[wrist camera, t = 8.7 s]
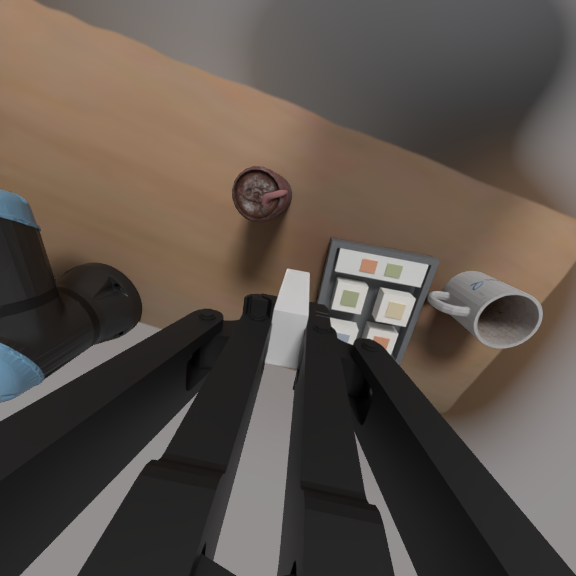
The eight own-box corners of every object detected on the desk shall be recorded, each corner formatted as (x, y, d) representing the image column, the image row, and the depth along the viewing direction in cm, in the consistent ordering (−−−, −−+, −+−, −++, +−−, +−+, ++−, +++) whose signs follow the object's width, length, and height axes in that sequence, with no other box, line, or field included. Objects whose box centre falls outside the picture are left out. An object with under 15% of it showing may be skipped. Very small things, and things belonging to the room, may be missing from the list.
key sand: (371, 313, 46) (375, 321, 43) (380, 287, 44) (384, 293, 41) (400, 319, 46) (406, 327, 43) (409, 292, 44) (416, 299, 41)
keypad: (307, 339, 51) (307, 349, 48) (331, 237, 44) (332, 240, 41) (394, 356, 51) (400, 367, 48) (431, 256, 44) (441, 260, 41)
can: (297, 208, 43) (291, 214, 30) (260, 218, 44) (239, 228, 31) (288, 169, 41) (277, 157, 28) (249, 180, 42) (222, 174, 29)
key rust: (359, 344, 50) (362, 353, 47) (366, 321, 48) (370, 329, 45) (385, 349, 50) (390, 358, 47) (393, 326, 48) (398, 334, 45)
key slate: (321, 341, 48) (322, 350, 46) (328, 317, 47) (329, 325, 44) (348, 346, 48) (351, 355, 46) (355, 322, 47) (358, 330, 44)
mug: (504, 279, 44) (556, 301, 35) (478, 323, 47) (519, 355, 38) (434, 258, 44) (467, 276, 35) (412, 304, 47) (437, 331, 38)
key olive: (330, 302, 47) (331, 309, 45) (336, 276, 46) (338, 281, 43) (357, 307, 47) (360, 315, 44) (365, 281, 46) (368, 287, 43)
